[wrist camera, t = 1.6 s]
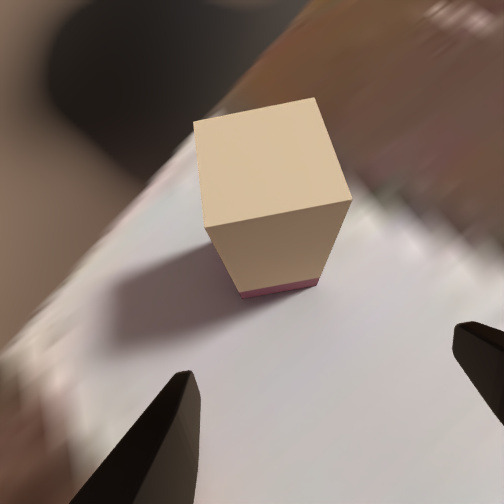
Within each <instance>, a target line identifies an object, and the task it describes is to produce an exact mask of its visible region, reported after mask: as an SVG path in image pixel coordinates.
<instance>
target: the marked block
mask: <svg viewBox="0 0 504 504" xmlns="http://www.w3.org/2000/svg"><path fill="white" fill-rule="evenodd" d="M193 123H194V133H195V143H196V152H197V162H198V171H199V181H200V190H201V200H202V209H203V219H204V228H205V230H206V232H207V233H208V235H209V237H210V239H211V241H212V243H213V245H214V247H215V248H216V250H217V252H218V254H219V256H220V258H221V260H222V262H223V263H224V265H225V267H226V269H227V271H228V273H229V275H230V277H231V278H232V280H233V282H234V284H235V286H236V288H237V290H238V292H239V294H240V295H241V297H242V299H245V298H251V297H256V296H262V295H267V294H272V293H278V292H283V291H289V290H294V289H299V288H305V287H310V286H316V285H317V283H318V281H319V278H320V276H321V274H322V271H323V269H324V266H325V264H326V262H327V259H328V257H329V254H330V252H331V250H332V247H333V245H334V242H335V240H336V238H337V235H338V233H339V230H340V228H341V226H342V223H343V221H344V219H345V216H346V214H347V211H348V209H349V207H350V204H351V202H352V197H351V194H350V191H349V189H348V186H347V183H346V181H345V178H344V175H343V173H342V170H341V167H340V165H339V162H338V159H337V157H336V154H335V151H334V149H333V146H332V143H331V141H330V138H329V135H328V133H327V130H326V127H325V125H324V122H323V119H322V117H321V114H320V111H319V109H318V106H317V103H316V101H315V98H309V99H304V100H299V101H294V102H289V103H284V104H279V105H274V106H269V107H264V108H259V109H254V110H249V111H244V112H239V113H234V114H229V115H224V116H219V117H214V118H209V119H205V120H200V121H195V122H193Z"/></svg>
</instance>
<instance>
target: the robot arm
mask: <svg viewBox="0 0 504 504" xmlns="http://www.w3.org/2000/svg"><path fill="white" fill-rule="evenodd" d="M452 350H453V354H454V357H455V359H456V360H457V362H458V363H459V364H460V366H461V367H462V369H463V370H464V372H465V373H466V374H467V376H468V377H469V379H470V380H471V382H472V383H473V384H474V386H475V387H476V389H477V390H478V392H479V393H480V394H481V396H482V397H483V399H484V400H485V402H486V403H487V404H488V406H489V407H490V409H491V410H492V411H493V413H494V414H495V415H496V417H497V418H498V419H499V420H500V422H501V423H502V424H503V425H504V331H501V330H498V329H495V328H492V327H489V326H487V325H484V324H481V323H478V322H474V321H470V322H464V323H459V324H457V325H456V326H455V328H454V337H453V346H452ZM200 409H201V397H200V392H199V389H198V386H197V383H196V380H195V377H194V374H193V372H192V371H190V370H188V371H182V372H177V373H176V374H175V375H174V376H173V377H172V378H171V379H170V380H169V382H168V383H167V384H166V385H165V387H164V388H163V389H162V390H161V391H160V393H159V394H158V395H157V396H156V398H155V399H154V400H153V401H152V402H151V404H150V405H149V406H148V407H147V409H146V410H145V411H144V412H143V413H142V415H141V416H140V417H139V418H138V420H137V421H136V422H135V423H134V424H133V426H132V427H131V428H130V429H129V431H128V432H127V433H126V434H125V435H124V437H123V438H122V439H121V440H120V441H119V443H118V444H117V445H116V446H115V448H114V449H113V450H112V451H111V452H110V454H109V455H108V456H107V457H106V459H105V460H104V461H103V462H102V463H101V465H100V466H99V467H98V468H97V470H96V471H95V472H94V473H93V474H92V476H91V477H90V478H89V479H88V481H87V482H86V483H85V484H84V485H83V487H82V488H81V489H80V490H79V492H78V493H77V494H76V495H75V496H74V498H73V499H72V500H71V501H70V503H69V504H193V502H194V495H195V488H196V480H197V472H198V460H199V435H200Z"/></svg>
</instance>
